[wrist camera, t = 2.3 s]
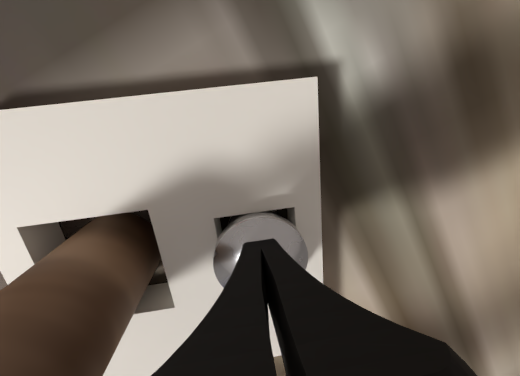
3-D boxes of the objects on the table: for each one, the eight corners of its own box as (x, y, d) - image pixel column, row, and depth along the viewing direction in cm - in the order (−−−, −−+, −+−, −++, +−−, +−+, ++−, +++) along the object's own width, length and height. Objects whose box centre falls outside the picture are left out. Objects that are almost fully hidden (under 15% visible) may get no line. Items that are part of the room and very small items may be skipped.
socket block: (313, 318, 15) (324, 347, 13) (88, 356, 14) (66, 394, 13) (303, 82, 11) (317, 76, 9) (-22, 117, 10) (-82, 118, 8)
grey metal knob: (294, 255, 14) (309, 292, 11) (224, 265, 13) (221, 307, 10) (289, 188, 12) (305, 212, 9) (212, 199, 12) (205, 226, 9)
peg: (170, 272, 13) (85, 487, 6) (96, 283, 13) (-96, 523, 5) (152, 206, 12) (13, 368, 4) (70, 217, 12) (-228, 410, 4)
